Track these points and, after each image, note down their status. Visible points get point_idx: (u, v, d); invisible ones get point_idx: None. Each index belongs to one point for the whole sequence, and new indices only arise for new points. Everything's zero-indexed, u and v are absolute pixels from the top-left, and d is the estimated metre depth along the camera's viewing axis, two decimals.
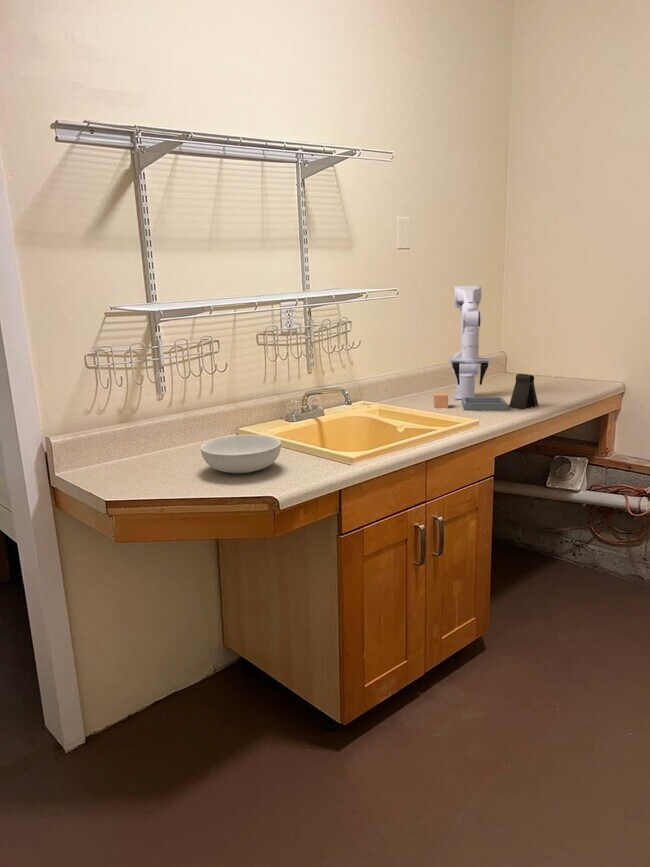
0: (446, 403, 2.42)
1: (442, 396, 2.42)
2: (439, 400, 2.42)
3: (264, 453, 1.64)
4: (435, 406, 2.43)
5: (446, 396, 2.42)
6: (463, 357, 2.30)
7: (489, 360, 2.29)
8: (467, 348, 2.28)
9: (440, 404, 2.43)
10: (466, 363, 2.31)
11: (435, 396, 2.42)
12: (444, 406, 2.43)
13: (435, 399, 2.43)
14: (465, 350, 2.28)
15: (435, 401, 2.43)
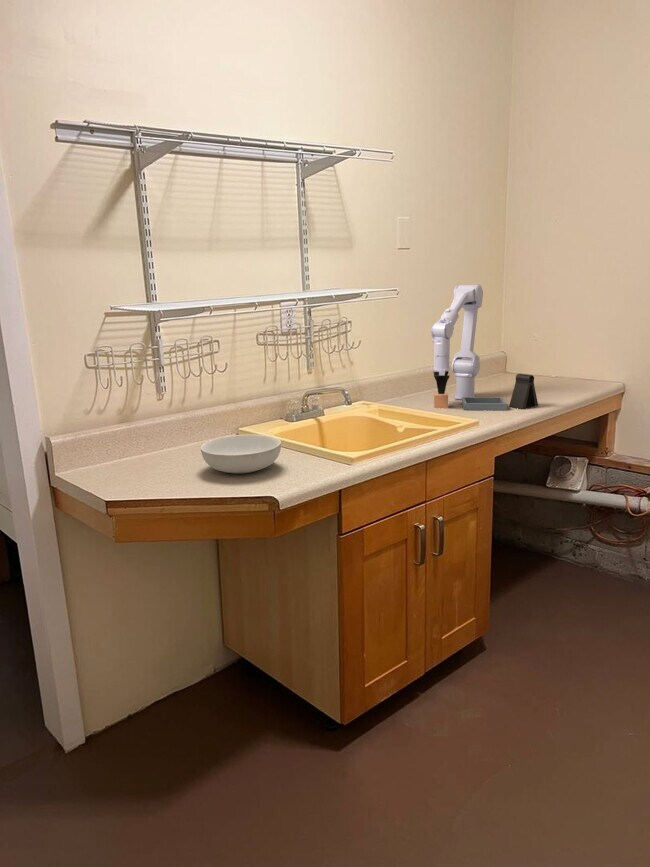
0: (446, 403, 2.42)
1: (442, 396, 2.42)
2: (439, 400, 2.42)
3: (264, 453, 1.64)
4: (435, 406, 2.43)
5: (446, 396, 2.42)
6: None
7: (439, 371, 2.36)
8: None
9: (440, 404, 2.43)
10: None
11: (435, 396, 2.42)
12: (444, 406, 2.43)
13: (435, 399, 2.43)
14: None
15: (435, 401, 2.43)
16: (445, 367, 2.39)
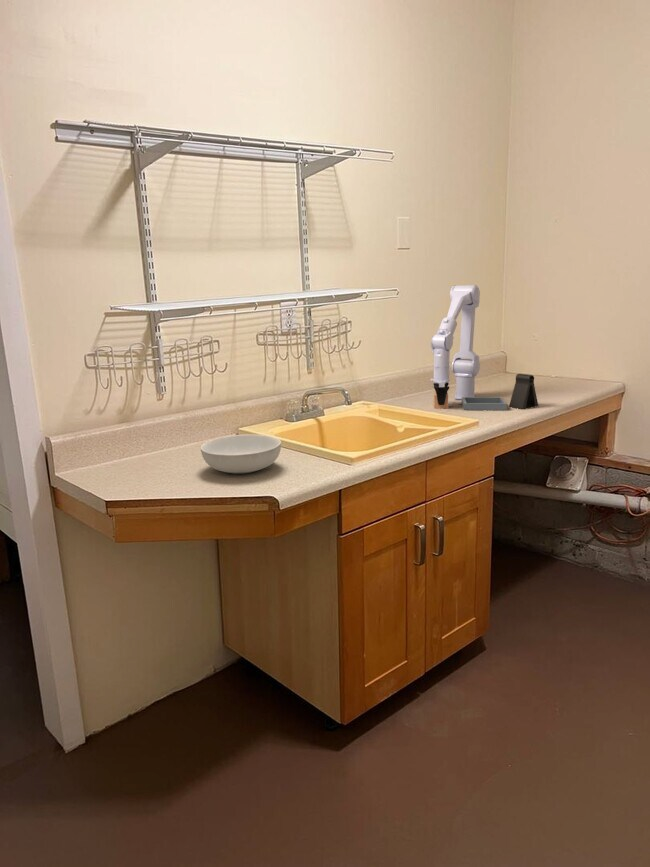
0: (446, 403, 2.42)
1: None
2: None
3: (264, 453, 1.64)
4: (435, 406, 2.43)
5: (446, 396, 2.42)
6: None
7: (439, 383, 2.37)
8: None
9: None
10: None
11: (435, 396, 2.42)
12: (444, 406, 2.43)
13: (435, 399, 2.43)
14: None
15: (435, 401, 2.43)
16: (445, 379, 2.40)
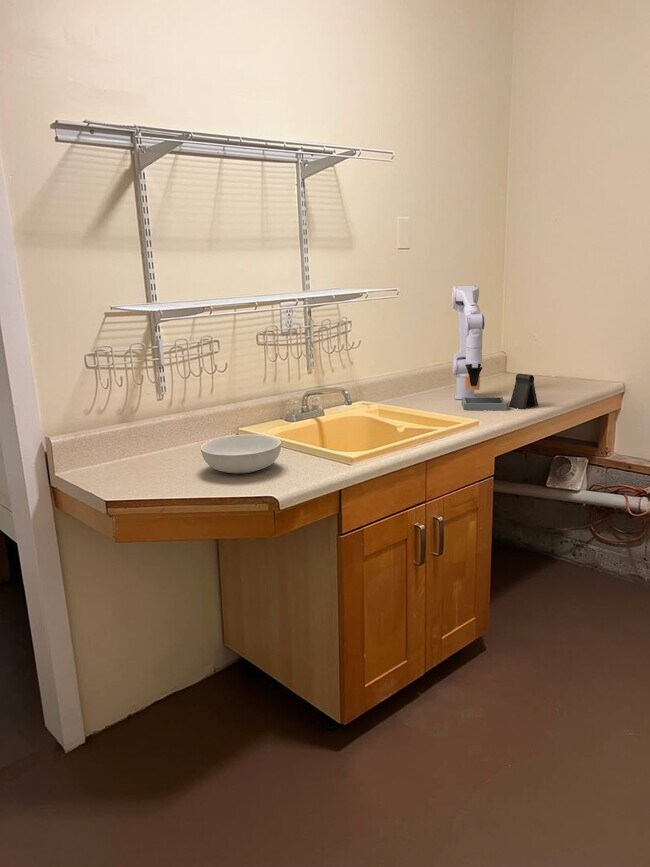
0: (477, 384, 2.39)
1: None
2: None
3: (264, 453, 1.64)
4: (466, 387, 2.40)
5: None
6: None
7: (472, 363, 2.34)
8: None
9: None
10: None
11: (466, 377, 2.39)
12: (475, 387, 2.40)
13: (466, 380, 2.39)
14: None
15: (466, 382, 2.40)
16: (478, 359, 2.37)
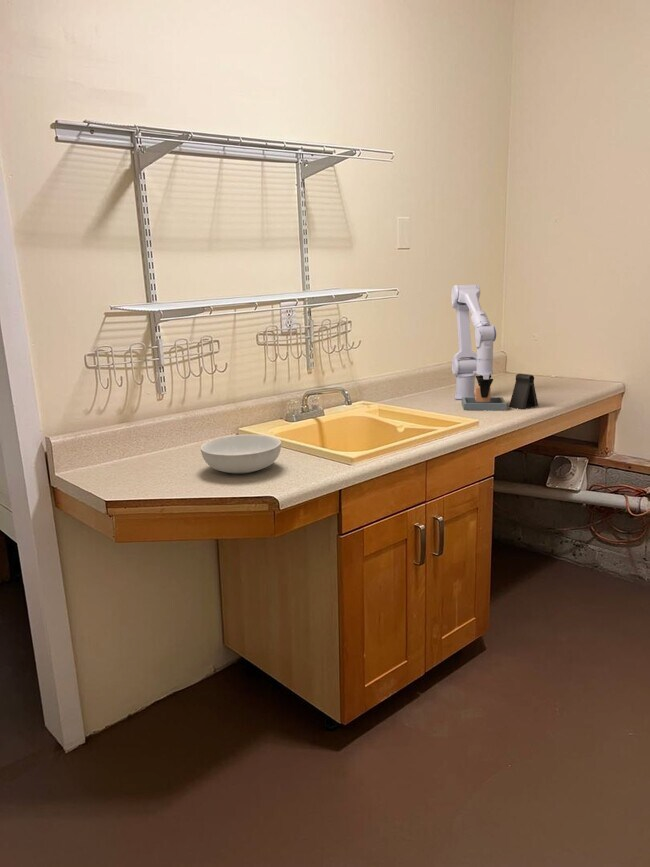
0: (488, 396, 2.40)
1: None
2: None
3: (264, 453, 1.64)
4: (477, 399, 2.40)
5: None
6: None
7: (483, 375, 2.34)
8: None
9: None
10: None
11: (477, 389, 2.40)
12: (486, 399, 2.40)
13: (477, 392, 2.40)
14: None
15: (477, 394, 2.40)
16: (489, 371, 2.37)
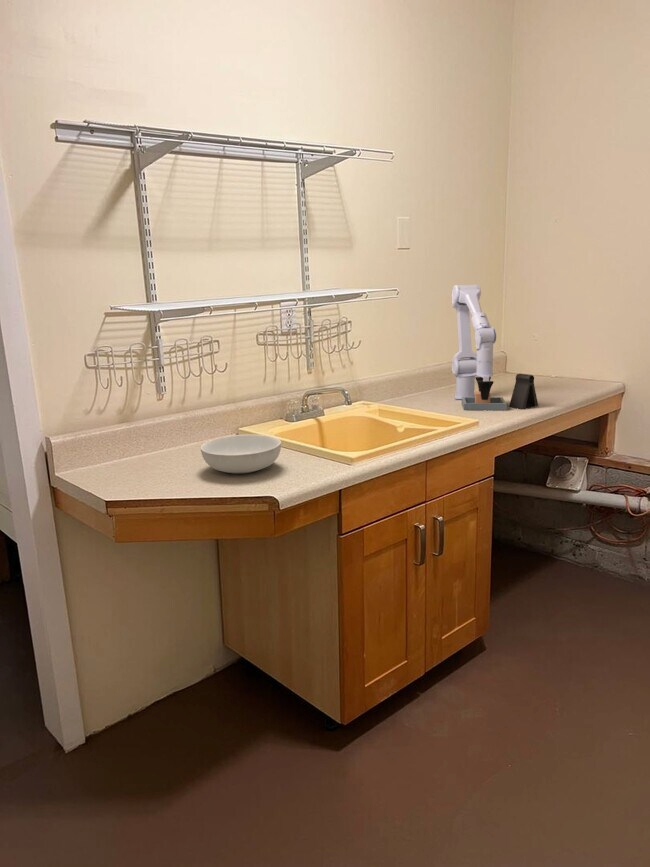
0: (488, 401, 2.40)
1: None
2: None
3: (264, 453, 1.64)
4: None
5: None
6: None
7: (483, 377, 2.34)
8: None
9: (482, 402, 2.40)
10: None
11: (477, 394, 2.40)
12: None
13: (477, 397, 2.40)
14: None
15: (477, 399, 2.41)
16: (488, 373, 2.38)
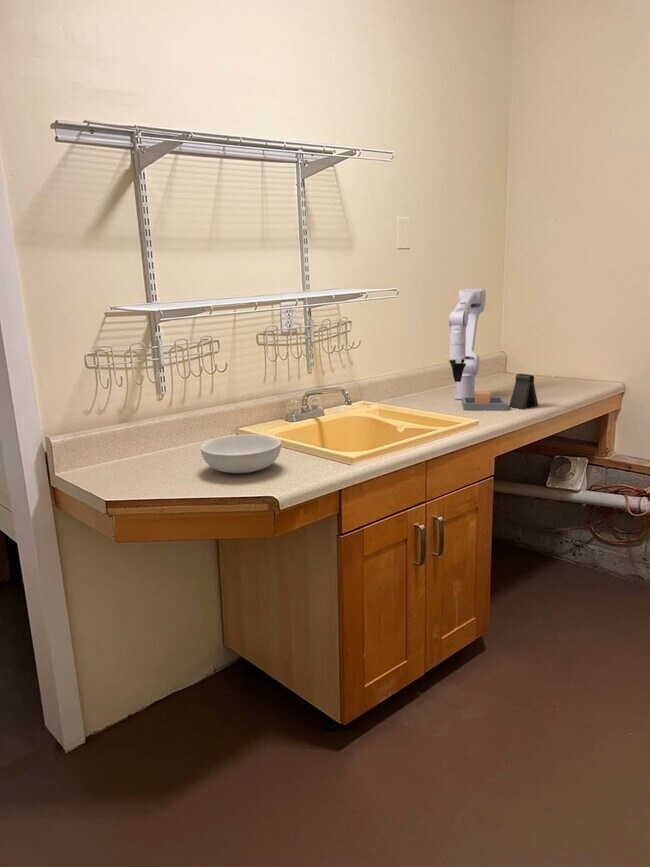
0: (488, 401, 2.40)
1: (484, 394, 2.40)
2: (481, 398, 2.40)
3: (264, 453, 1.64)
4: None
5: (488, 394, 2.40)
6: None
7: (455, 359, 2.39)
8: None
9: (482, 402, 2.40)
10: None
11: (477, 394, 2.40)
12: None
13: (477, 397, 2.40)
14: None
15: (477, 399, 2.41)
16: (461, 355, 2.42)
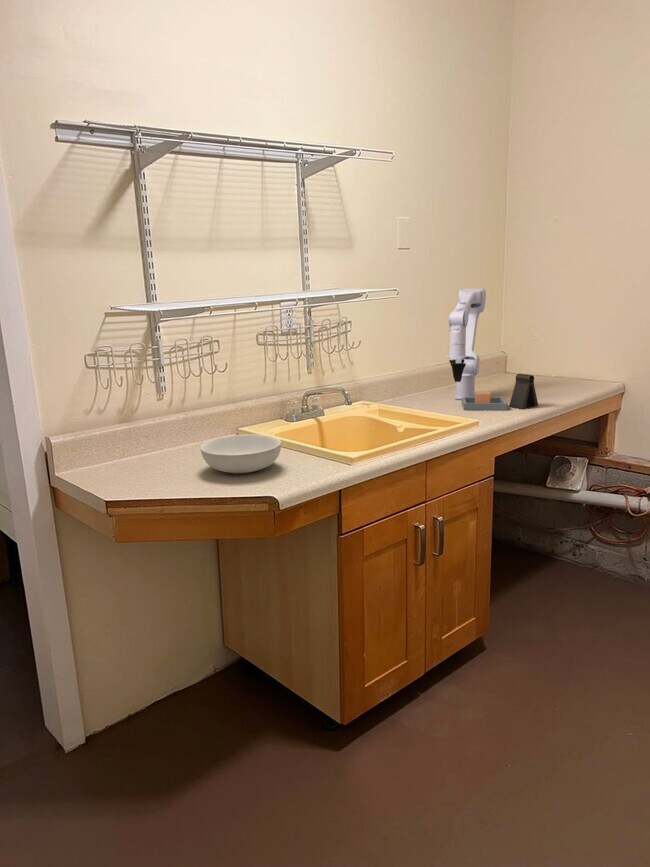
0: (488, 401, 2.40)
1: (484, 394, 2.40)
2: (481, 398, 2.40)
3: (264, 453, 1.64)
4: None
5: (488, 394, 2.40)
6: None
7: (455, 359, 2.39)
8: None
9: (482, 402, 2.40)
10: None
11: (477, 394, 2.40)
12: None
13: (477, 397, 2.40)
14: None
15: (477, 399, 2.41)
16: (461, 355, 2.42)
